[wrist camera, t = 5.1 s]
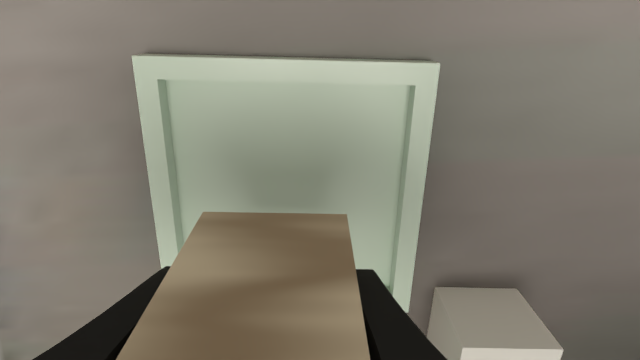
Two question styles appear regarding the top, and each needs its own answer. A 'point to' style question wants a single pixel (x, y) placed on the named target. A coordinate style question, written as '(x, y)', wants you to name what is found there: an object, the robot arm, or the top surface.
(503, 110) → the top surface
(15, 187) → the top surface
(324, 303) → the birch block
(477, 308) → the white cube
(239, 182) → the sage tray
